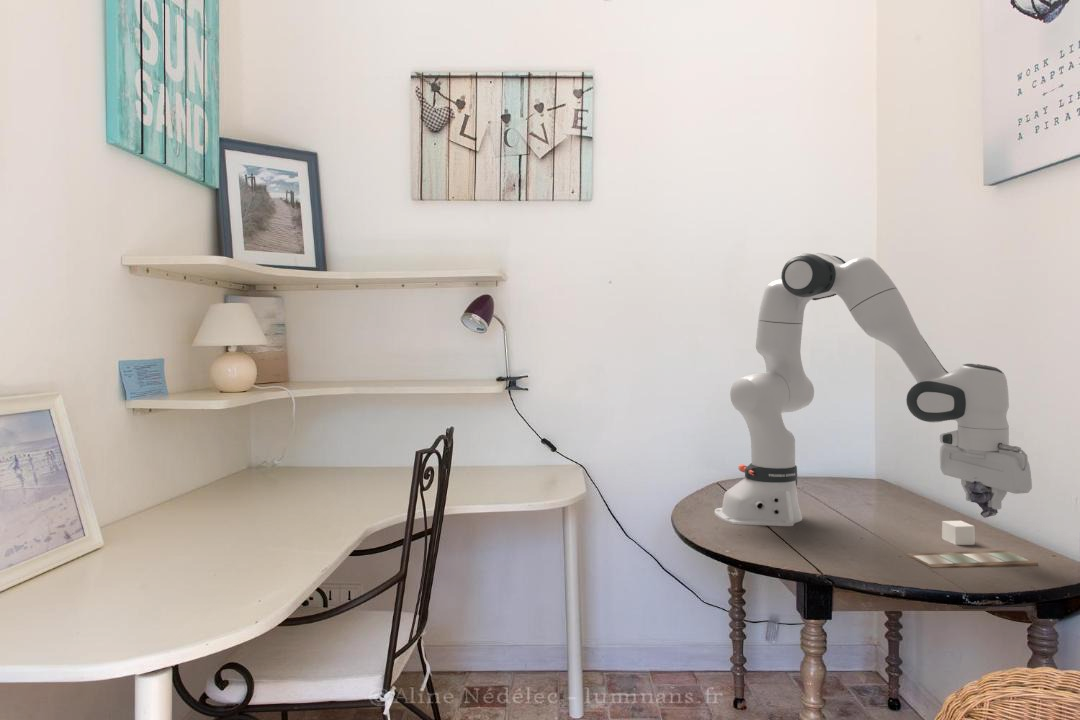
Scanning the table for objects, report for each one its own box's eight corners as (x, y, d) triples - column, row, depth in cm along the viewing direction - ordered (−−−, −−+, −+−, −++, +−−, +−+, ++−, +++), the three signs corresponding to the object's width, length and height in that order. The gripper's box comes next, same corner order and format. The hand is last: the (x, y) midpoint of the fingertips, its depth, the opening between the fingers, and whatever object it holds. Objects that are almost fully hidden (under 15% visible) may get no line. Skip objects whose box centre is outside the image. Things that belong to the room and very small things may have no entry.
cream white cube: (955, 546, 140) (955, 526, 140) (942, 539, 145) (942, 521, 145) (974, 545, 140) (974, 526, 140) (960, 539, 145) (960, 520, 145)
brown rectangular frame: (931, 569, 126) (931, 566, 126) (906, 556, 134) (906, 553, 134) (1038, 565, 127) (1038, 562, 127) (1006, 552, 135) (1006, 550, 135)
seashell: (999, 522, 126) (999, 473, 126) (968, 518, 129) (967, 471, 129) (999, 516, 131) (998, 469, 130) (968, 512, 134) (968, 467, 134)
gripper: (1041, 447, 120) (1041, 517, 120) (959, 433, 140) (959, 493, 140) (1011, 448, 119) (1011, 519, 119) (933, 434, 140) (934, 494, 140)
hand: (983, 504), depth 130 cm, fingers closed on seashell, 4 cm apart
